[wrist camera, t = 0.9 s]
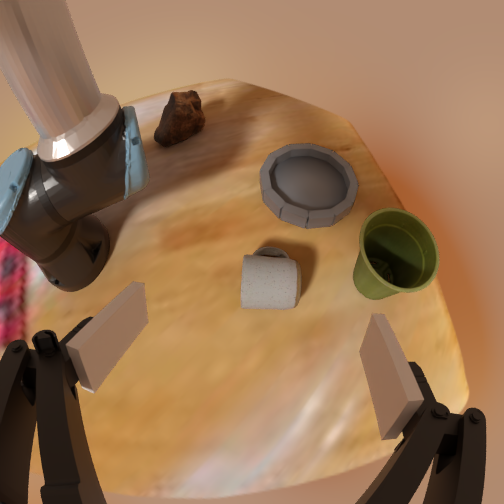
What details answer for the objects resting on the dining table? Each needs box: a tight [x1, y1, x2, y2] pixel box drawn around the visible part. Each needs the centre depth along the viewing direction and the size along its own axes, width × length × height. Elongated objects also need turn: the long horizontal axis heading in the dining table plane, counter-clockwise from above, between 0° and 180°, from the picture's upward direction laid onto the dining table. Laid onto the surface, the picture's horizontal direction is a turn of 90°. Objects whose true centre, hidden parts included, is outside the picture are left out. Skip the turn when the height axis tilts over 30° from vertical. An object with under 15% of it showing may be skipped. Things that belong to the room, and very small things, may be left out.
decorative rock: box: [154, 90, 205, 147], centre depth 52 cm, size 12×6×11 cm, turn 124°
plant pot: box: [353, 208, 439, 300], centre depth 36 cm, size 12×12×11 cm
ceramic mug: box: [241, 247, 302, 310], centre depth 39 cm, size 10×8×7 cm
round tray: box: [260, 143, 359, 229], centre depth 48 cm, size 17×17×3 cm
